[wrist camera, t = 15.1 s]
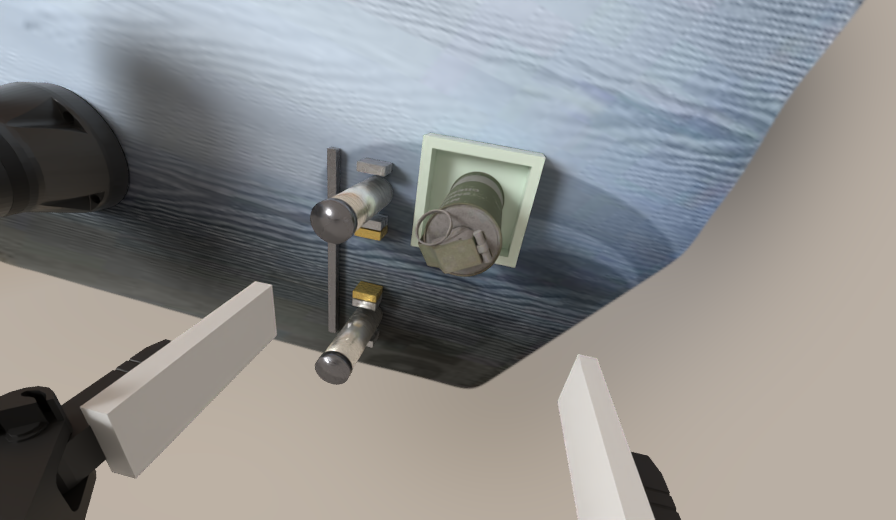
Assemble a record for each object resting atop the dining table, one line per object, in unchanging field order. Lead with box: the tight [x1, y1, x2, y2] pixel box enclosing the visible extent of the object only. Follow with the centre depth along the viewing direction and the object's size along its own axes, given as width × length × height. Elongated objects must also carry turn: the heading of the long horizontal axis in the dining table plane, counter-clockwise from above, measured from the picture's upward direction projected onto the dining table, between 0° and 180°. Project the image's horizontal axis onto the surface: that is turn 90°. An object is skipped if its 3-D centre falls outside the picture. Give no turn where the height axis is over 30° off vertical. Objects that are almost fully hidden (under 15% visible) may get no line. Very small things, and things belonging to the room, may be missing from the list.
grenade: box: [415, 172, 504, 277], centre depth 29 cm, size 6×6×15 cm
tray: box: [411, 133, 545, 268], centre depth 35 cm, size 12×12×3 cm
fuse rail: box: [310, 147, 393, 385], centre depth 37 cm, size 7×25×11 cm, turn 171°
